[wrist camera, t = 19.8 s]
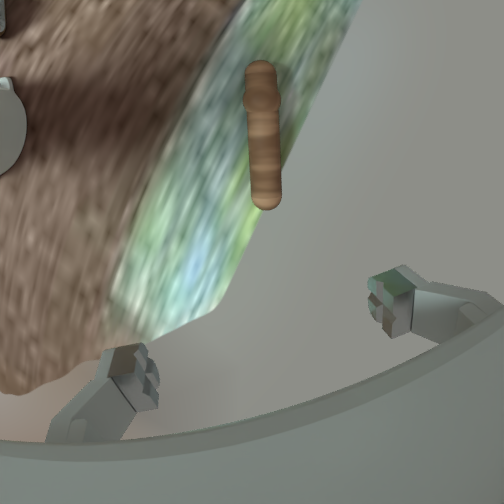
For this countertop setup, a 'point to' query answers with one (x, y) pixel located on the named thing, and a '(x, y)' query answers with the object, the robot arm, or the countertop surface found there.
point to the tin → (2, 17)
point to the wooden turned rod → (263, 133)
